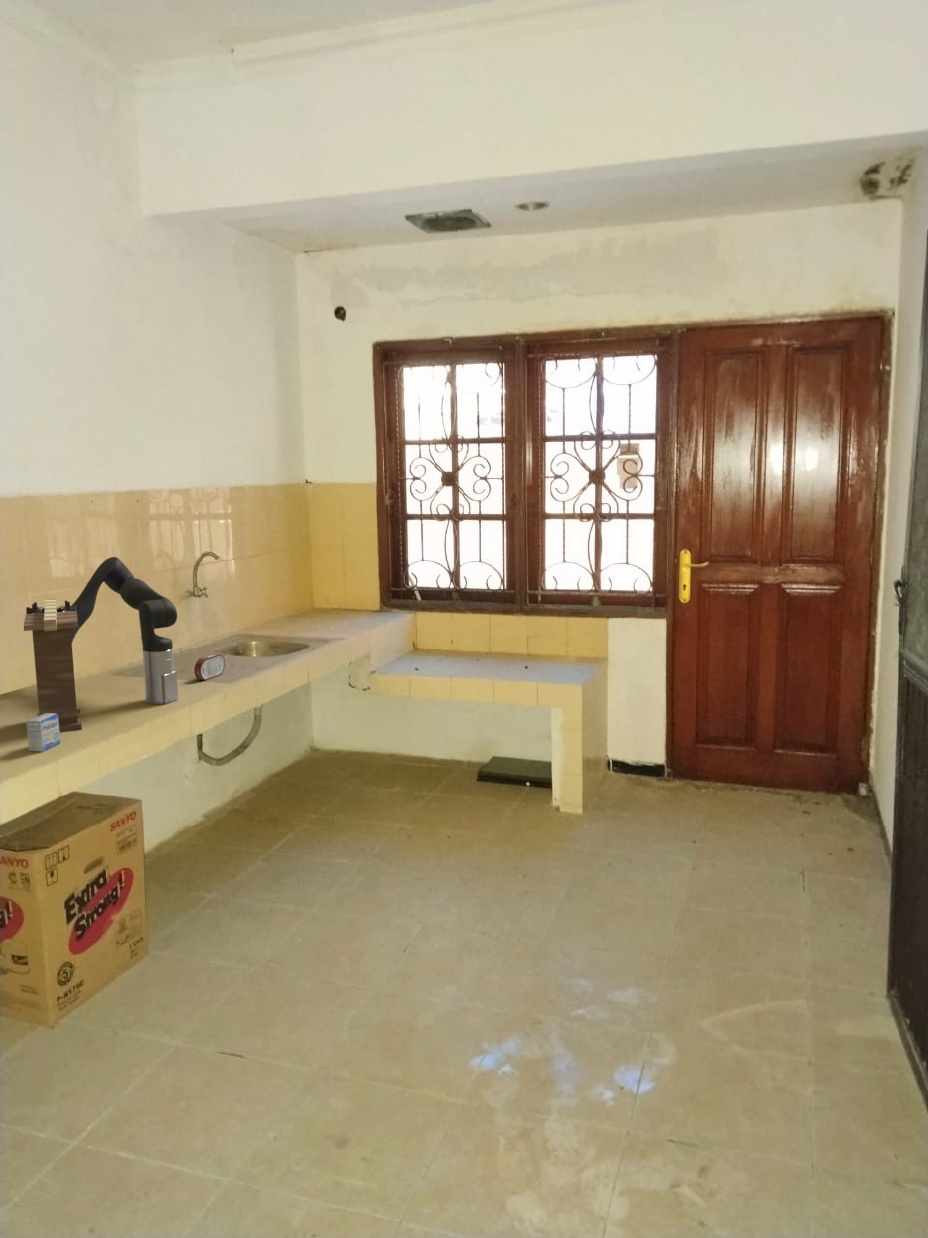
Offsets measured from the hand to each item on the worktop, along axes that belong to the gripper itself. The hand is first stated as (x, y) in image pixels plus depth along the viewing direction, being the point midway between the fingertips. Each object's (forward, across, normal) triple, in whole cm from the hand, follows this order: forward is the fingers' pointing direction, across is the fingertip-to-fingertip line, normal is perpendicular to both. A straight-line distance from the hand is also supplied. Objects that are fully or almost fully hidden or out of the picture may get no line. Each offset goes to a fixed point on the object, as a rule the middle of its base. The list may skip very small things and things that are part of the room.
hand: (51, 604), depth 277 cm
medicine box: (+14, -4, +48) cm, 50 cm away
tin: (-40, +50, +16) cm, 67 cm away
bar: (+12, 0, +9) cm, 15 cm away
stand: (-5, 0, +36) cm, 37 cm away
